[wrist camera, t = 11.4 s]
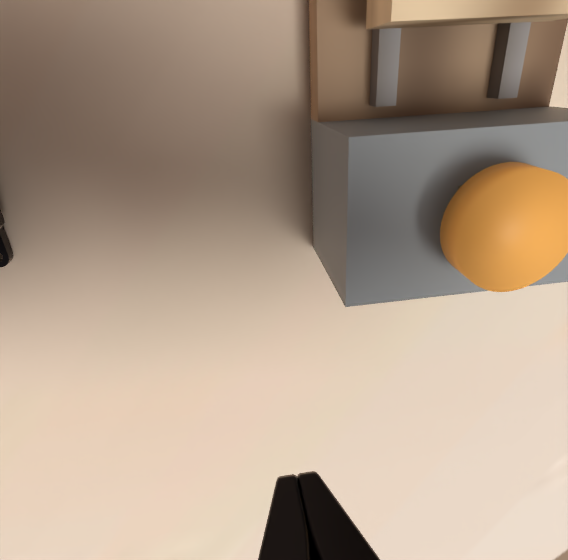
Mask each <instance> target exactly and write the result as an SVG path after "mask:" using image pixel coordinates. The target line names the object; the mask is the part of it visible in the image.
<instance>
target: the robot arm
mask: <svg viewBox="0 0 568 560" xmlns="http://www.w3.org/2000/svg"><path fill="white" fill-rule="evenodd" d="M4 223H5V221H4V218H3V215H2V213H1V210H0V254H1V255H2V256H3V259H0V267H4V266H6V265H7V264H8V263H9V262H10V261H11V260H12V258H13V252H12V250H11V247H10V244H9V242H8V239H7V236H6V234H5V231H4V228H3V225H4ZM258 560H380V559H379V557H378V556H377V555H376V553H375V552H374V551H373V549H372V548H371V546H370V545H369V544H368V542H367V541H366V539H365V538H364V537H363V535H362V534H361V533H360V531H359V530H358V528H357V527H356V526H355V524H354V523H353V521H352V520H351V519H350V517H349V516H348V515H347V513H346V512H345V510H344V509H343V508H342V506H341V505H340V503H339V502H338V501H337V499H336V498H335V497H334V495H333V494H332V492H331V491H330V490H329V488H328V487H327V486H326V484H325V483H324V481H323V480H322V479H321V477H320V476H319V475H318V474H317V473H316V472H314V471H312V472H305V473H300V474H298V476H296V475H293V474H292V475H286V476H280V477H278V479H277V481H276V485H275V490H274V494H273V498H272V502H271V507H270V511H269V515H268V519H267V524H266V528H265V532H264V537H263V541H262V545H261V549H260V554H259V558H258Z"/></svg>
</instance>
